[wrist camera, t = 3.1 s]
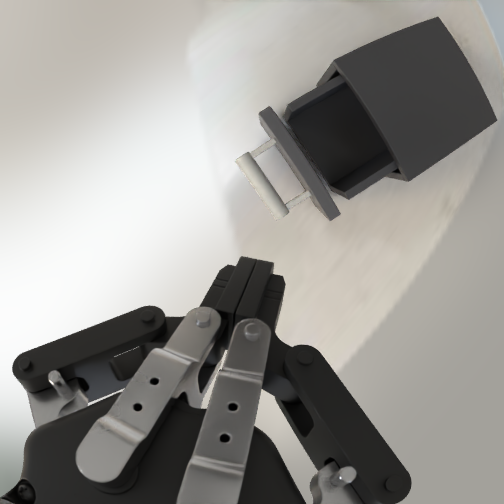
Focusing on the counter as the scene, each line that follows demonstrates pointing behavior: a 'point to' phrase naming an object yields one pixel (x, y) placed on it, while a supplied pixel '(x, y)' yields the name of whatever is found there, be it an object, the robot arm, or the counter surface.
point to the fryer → (416, 94)
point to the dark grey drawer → (322, 149)
